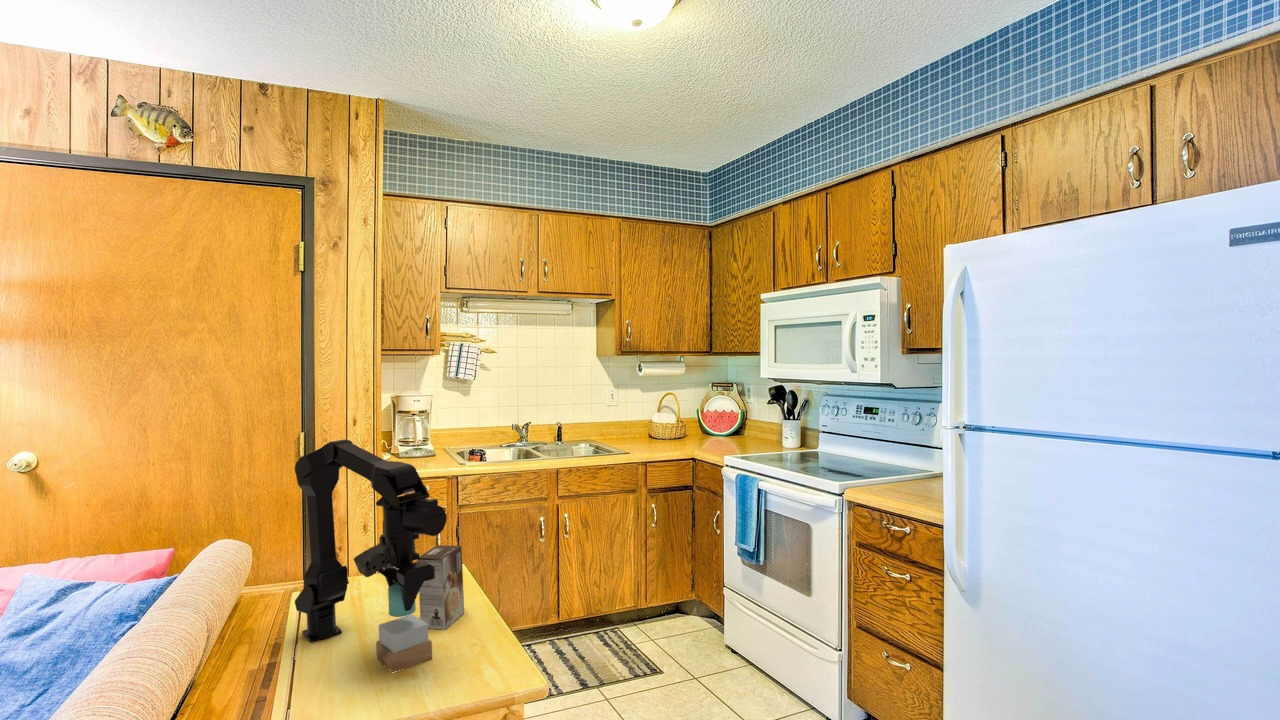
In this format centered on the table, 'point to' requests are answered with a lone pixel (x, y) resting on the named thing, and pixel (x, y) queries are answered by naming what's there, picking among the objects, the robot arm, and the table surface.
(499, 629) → the table surface
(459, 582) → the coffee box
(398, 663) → the tower base
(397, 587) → the teal cylinder
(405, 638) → the tower top
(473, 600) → the table surface
